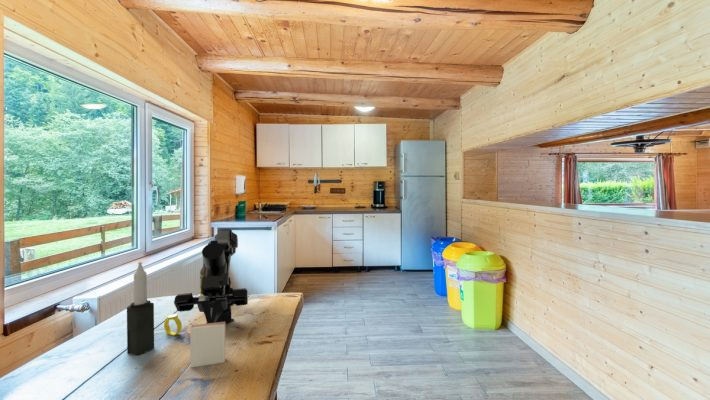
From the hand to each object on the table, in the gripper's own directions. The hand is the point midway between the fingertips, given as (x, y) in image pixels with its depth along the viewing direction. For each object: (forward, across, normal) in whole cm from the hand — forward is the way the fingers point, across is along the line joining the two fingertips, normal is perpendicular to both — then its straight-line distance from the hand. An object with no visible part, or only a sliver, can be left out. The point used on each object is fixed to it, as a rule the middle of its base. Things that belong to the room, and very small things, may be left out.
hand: (209, 329), depth 80 cm
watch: (-7, -13, +18) cm, 24 cm away
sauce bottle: (-26, -7, +37) cm, 46 cm away
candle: (-1, -19, +12) cm, 23 cm away
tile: (+4, 0, 0) cm, 4 cm away
